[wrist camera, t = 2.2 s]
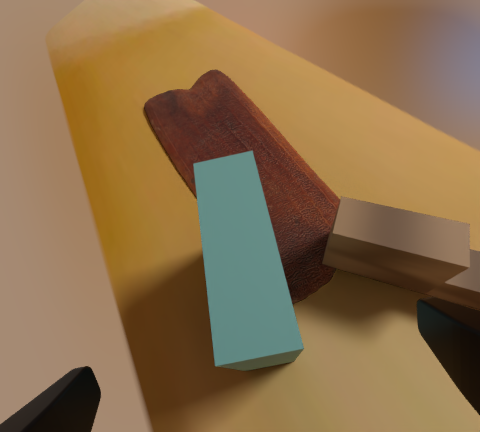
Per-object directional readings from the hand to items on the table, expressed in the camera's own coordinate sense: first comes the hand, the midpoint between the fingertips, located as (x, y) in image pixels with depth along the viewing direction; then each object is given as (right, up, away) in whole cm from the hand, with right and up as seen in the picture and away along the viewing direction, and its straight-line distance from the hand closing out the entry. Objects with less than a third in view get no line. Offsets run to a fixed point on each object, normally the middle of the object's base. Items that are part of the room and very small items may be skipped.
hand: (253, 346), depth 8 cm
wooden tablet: (-1, +8, +19) cm, 20 cm away
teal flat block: (+1, -2, +12) cm, 12 cm away
